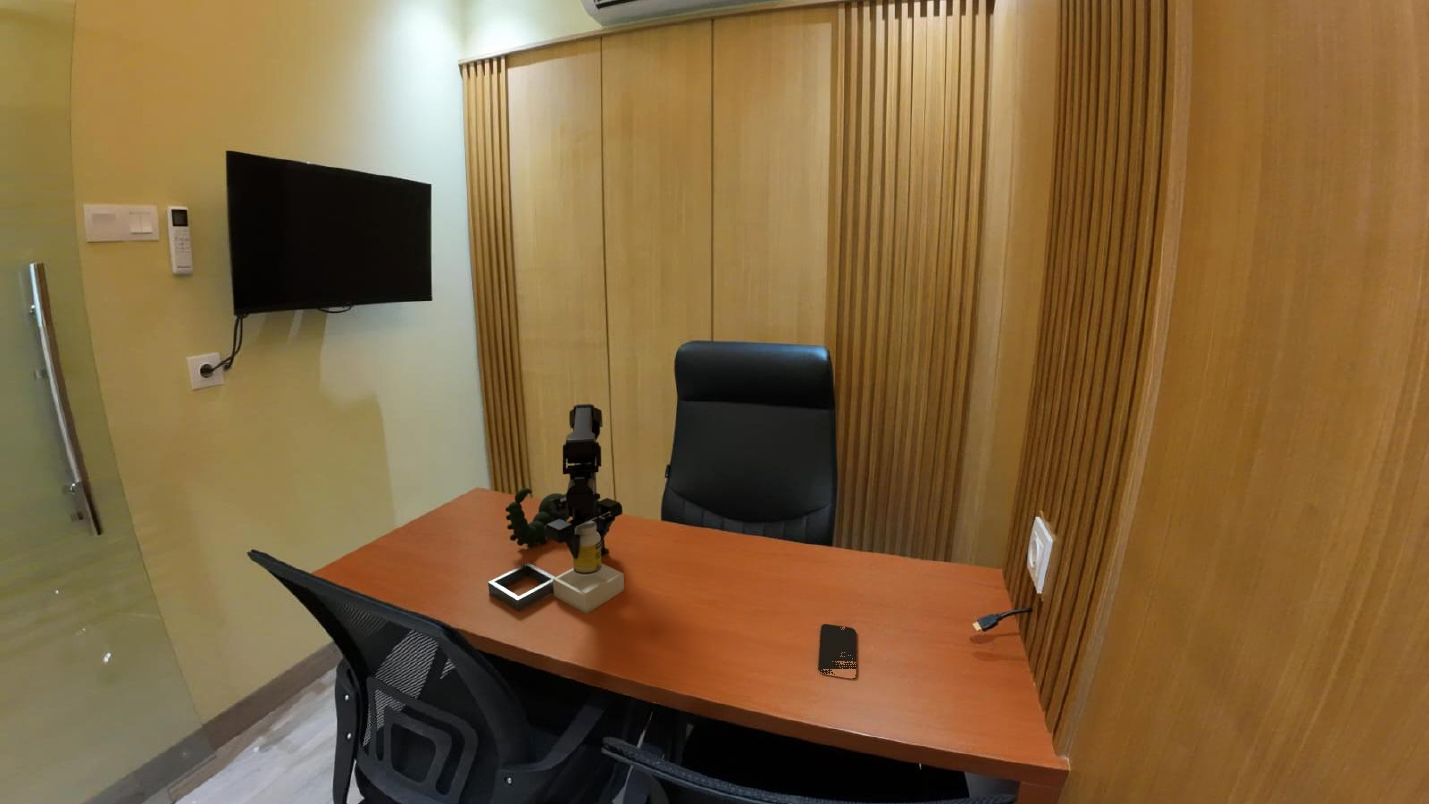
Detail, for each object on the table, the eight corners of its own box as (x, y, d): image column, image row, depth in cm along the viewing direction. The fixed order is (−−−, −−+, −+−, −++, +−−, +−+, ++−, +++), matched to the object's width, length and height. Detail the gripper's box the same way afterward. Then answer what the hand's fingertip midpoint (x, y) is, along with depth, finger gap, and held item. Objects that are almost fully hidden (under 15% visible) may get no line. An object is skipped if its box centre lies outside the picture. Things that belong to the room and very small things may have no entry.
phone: (817, 672, 103) (821, 622, 117) (817, 675, 103) (820, 626, 117) (857, 678, 101) (856, 628, 115) (857, 682, 101) (855, 631, 115)
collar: (529, 573, 136) (528, 562, 136) (558, 589, 129) (558, 578, 129) (489, 593, 128) (487, 582, 127) (518, 611, 121) (517, 600, 120)
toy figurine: (532, 564, 144) (586, 518, 166) (522, 501, 138) (579, 462, 160) (504, 557, 147) (561, 513, 169) (493, 496, 141) (554, 458, 163)
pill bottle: (595, 579, 123) (593, 532, 120) (568, 575, 124) (566, 529, 122) (606, 564, 129) (604, 520, 127) (580, 561, 130) (579, 517, 128)
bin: (592, 574, 136) (591, 558, 135) (624, 590, 129) (623, 573, 128) (554, 595, 127) (552, 578, 126) (586, 614, 120) (585, 596, 119)
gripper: (591, 470, 134) (594, 527, 138) (526, 495, 119) (532, 558, 123) (622, 481, 127) (625, 540, 131) (558, 508, 113) (563, 574, 117)
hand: (587, 552), depth 126 cm, fingers closed on pill bottle, 6 cm apart
